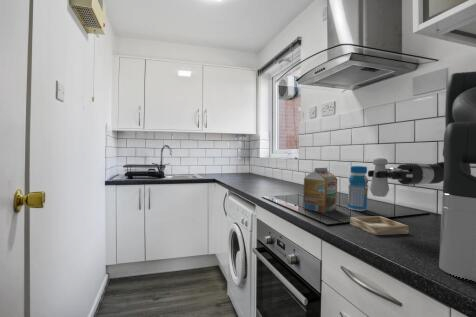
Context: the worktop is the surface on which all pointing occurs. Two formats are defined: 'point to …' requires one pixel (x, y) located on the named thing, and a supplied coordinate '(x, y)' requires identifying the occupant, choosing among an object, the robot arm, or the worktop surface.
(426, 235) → the worktop surface
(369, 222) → the tray
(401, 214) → the worktop surface
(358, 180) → the beverage bottle
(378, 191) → the salt shaker
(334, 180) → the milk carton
